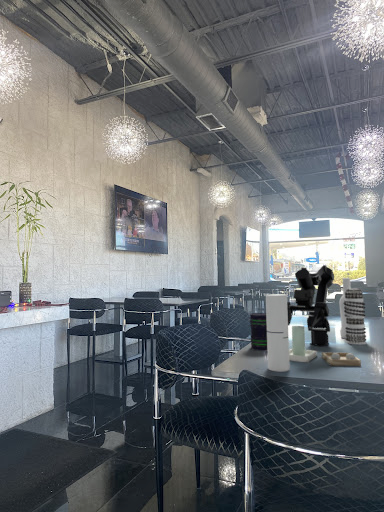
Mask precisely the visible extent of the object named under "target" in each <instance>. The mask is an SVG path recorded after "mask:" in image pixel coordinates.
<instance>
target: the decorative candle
mask: <svg viewBox="0 0 384 512" xmlns="http://www.w3.org/2000/svg"><path fill="white" fill-rule="evenodd" d="M363 293H364V291H363V290H362V289H361V288H351V289H347V290H346V291H345V301H344V303H343V304H344V305H345V307H344V309H346V310H345V311H344V312H345V313H346V314H345V317H346V328H345V329H347V330H346V333H347V334H346V337H347V338H346V339H345V341H346V342H345V343H346V344H349V345H359V346H361V345H366V344H367V342H366V341H367V335H366V333H367V331H366V329H367V328H366V324H365V318H366V314H365V313H366V311H365V310H364V309H366V307H365V305H366V303H364V301H365V300H364V297H363V296H364V294H363Z"/></svg>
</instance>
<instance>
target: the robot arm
mask: <svg viewBox="0 0 384 512" xmlns="http://www.w3.org/2000/svg"><path fill="white" fill-rule="evenodd" d="M294 276H295V279H296V283H297V284H298V286H299V288H300V289H294V292H293V298H294V299H295V300H294V301H295V302H294V303H295V304H291V302H290V301H287V310H288V327H289V326H290V325H291V322H292V318H293V311H297V312H298V311H299V312H308V317H307V318H306V324H307V325H306V326H307V330H308V331H309V332H310V340H311V341H310V342H309V345H312V346H319V347H324V346H325V347H326V346H328V345H330V343H329V334H328V333H329V332H331V326H330V323H329V320H328V317H329V316H330V315H329V314H330V309H329V306H328V303H327V298H328V290H329V288H331V286H332V285H333V282H334V281H335V273H334V272H333V269H332V268H330V267H328V266H327V264H325V263H319V264H318V263H317V264H314V266H313V267H312V268H311V270H310V271H309V270H308V269H307V267H301V268H300V269H299V270H297V271H296V272H295V274H294ZM316 286H317V290H316ZM315 295H316V296H315ZM314 298H315V302H314ZM313 305H314V306H313Z"/></svg>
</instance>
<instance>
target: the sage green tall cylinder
mask: <svg viewBox="0 0 384 512" xmlns="http://www.w3.org/2000/svg"><path fill="white" fill-rule="evenodd" d="M291 335H292V337H291V338H292V343H291V344H292V349H293V355H298V356H305V350H306V341H305V340H306V338H305V337H306V336H305V326H302V325H292V326H291Z"/></svg>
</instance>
